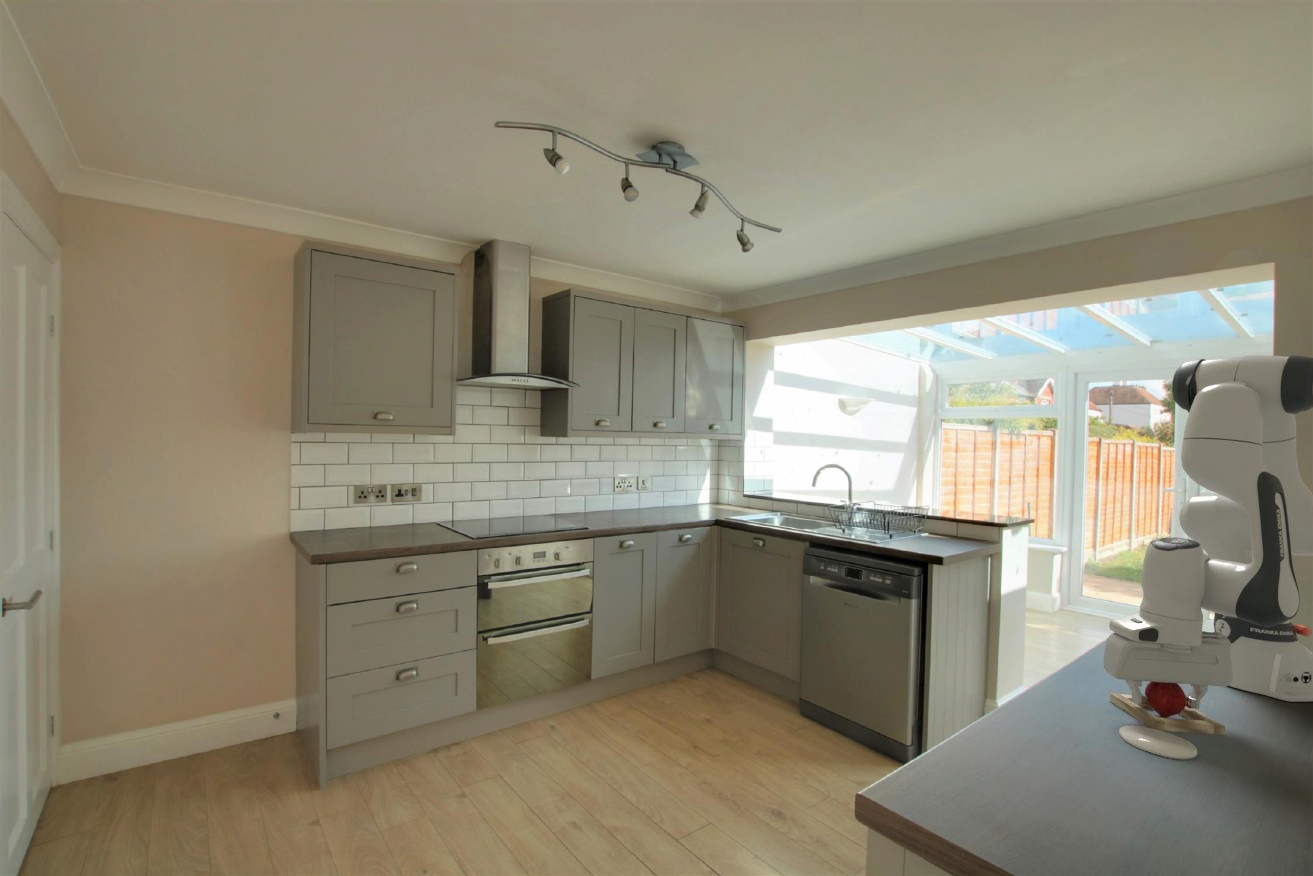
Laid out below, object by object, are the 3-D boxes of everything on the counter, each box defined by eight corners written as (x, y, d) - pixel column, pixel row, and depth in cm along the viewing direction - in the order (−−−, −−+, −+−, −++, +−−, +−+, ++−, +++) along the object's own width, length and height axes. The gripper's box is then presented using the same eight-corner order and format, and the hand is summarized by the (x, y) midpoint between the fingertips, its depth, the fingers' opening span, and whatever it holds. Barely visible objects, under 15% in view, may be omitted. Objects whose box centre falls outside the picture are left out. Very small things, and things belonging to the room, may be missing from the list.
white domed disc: (1165, 731, 108) (1166, 727, 108) (1214, 761, 98) (1214, 758, 98) (1105, 727, 109) (1105, 723, 109) (1147, 756, 99) (1147, 753, 99)
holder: (1173, 705, 120) (1173, 697, 120) (1224, 734, 108) (1224, 726, 108) (1109, 701, 120) (1110, 693, 120) (1154, 729, 109) (1154, 721, 109)
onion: (1192, 726, 111) (1195, 681, 111) (1155, 722, 112) (1157, 677, 112) (1172, 712, 116) (1175, 669, 116) (1137, 708, 118) (1139, 665, 117)
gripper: (1215, 627, 117) (1211, 702, 117) (1100, 620, 118) (1096, 694, 118) (1245, 638, 110) (1240, 717, 110) (1123, 631, 111) (1118, 709, 112)
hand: (1165, 705), depth 114 cm, fingers open, 8 cm apart
